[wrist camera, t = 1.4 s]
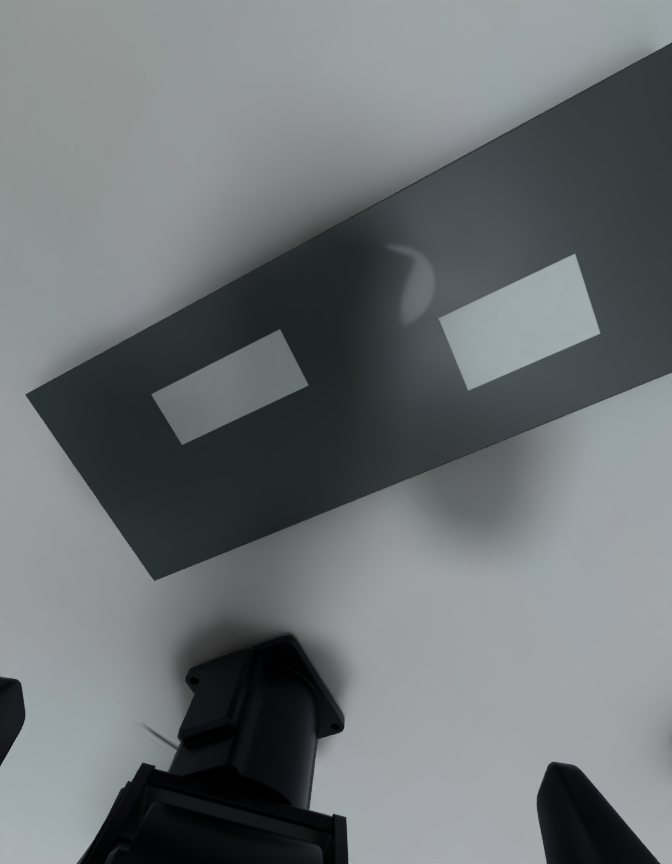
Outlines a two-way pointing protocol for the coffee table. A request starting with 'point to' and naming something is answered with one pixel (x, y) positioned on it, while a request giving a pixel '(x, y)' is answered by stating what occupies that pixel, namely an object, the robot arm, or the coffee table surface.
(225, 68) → the coffee table surface
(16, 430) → the coffee table surface
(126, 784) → the robot arm
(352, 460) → the slate board
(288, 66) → the coffee table surface
